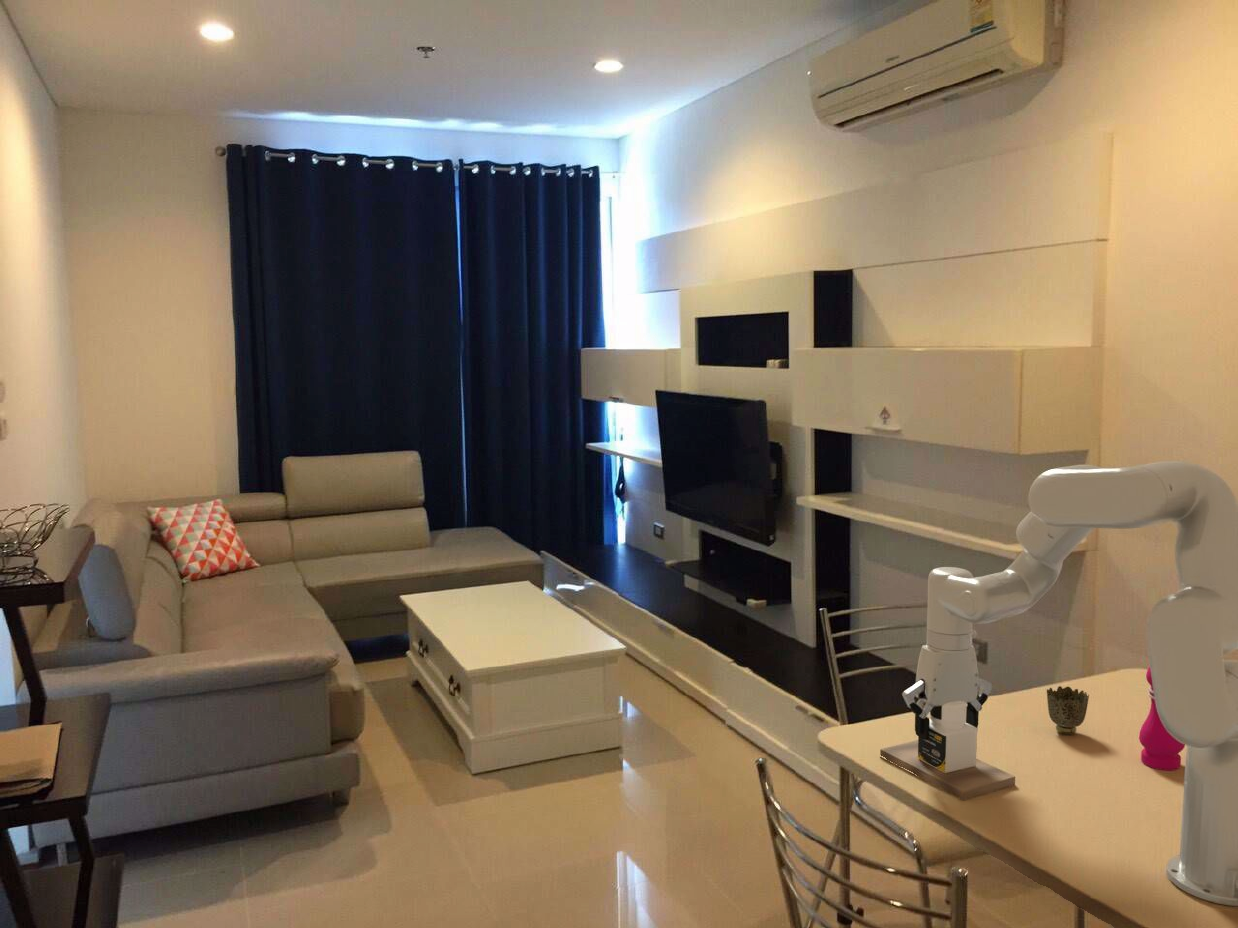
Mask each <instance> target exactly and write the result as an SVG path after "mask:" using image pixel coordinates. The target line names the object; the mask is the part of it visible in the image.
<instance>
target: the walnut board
mask: <svg viewBox="0 0 1238 928" xmlns="http://www.w3.org/2000/svg"><path fill="white" fill-rule="evenodd" d="M880 755H881V756H883V757H885V758H886V759H887V760H889V761H891V762H893V763H895V764H897V765H898V766H900V767H903V768H905V769H907V770H909V771H911V772H913V773H914V774H916V775H917V776H919V777H920V778H919V777H918V778H919V779H921V778H922V780H923V779H924V780H923V781H925V780H926V781H925V782H927V783H929V784H931V785H933V786H935V787H937V788H939V789H941V790H942V791H945V792H946V793H949V794H950V795H952V796H954V797H956V798H958V799H960V800H962V801H964V800H965V801H966V800H968V799H971V798H975V797H979V796H982V795H986V794H990V793H992V792H993V793H994V792H997V791H998V790H1002V789H1006V788H1010V787H1013V786H1015V785H1016V776H1015V775H1012V774H1011V773H1008V772H1007V771H1004V770H1002V769H1000V768H998V767H996V766H993V765H991V764H989V763H987V762H985V761H983V760H981V759H979V758H976V766H975V767H971V768H966V769H962V770H958V771H953V772H949V773H943V772H941V771H939V770H938V769H936V768H934V767H932V766H930V765H929V764H927V763H925V762H923V761H921V760H920V759H918V739H915V740H912V741H909V742H903V743H900V744H897V745H896V744H895V745H893V746H889V747H888V746H887V747H883V748H880V754H879V756H880ZM887 760H886V761H887ZM898 766H897V767H898ZM900 767H899V768H900ZM914 774H913V775H914ZM917 776H916V777H917Z"/></svg>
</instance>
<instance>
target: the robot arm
mask: <svg viewBox="0 0 1238 928" xmlns="http://www.w3.org/2000/svg"><path fill="white" fill-rule="evenodd" d="M1027 497H1028V498H1027V499H1028V505H1029V509H1030V512H1029V513H1028V514H1027V515H1026V516H1025V517H1024V518H1023V519H1022V520H1021V521H1020V523H1018V525H1017V527H1016V529H1015V535H1016V539H1017V541H1018V544H1019V545H1020V546H1021V548H1022V549H1023V550H1022V551H1021V553H1020V554H1019V555H1018V556H1017V558H1016V559H1015V560H1013V562H1011V564H1010V565H1009V566H1008V567H1007V568H1005V570H1003V571H1000V572H995V573H992V574H986V575H983V576H976V577H974V576H973V573H971V571H969V570H968V569H964V568H960V567H954V566H941V567H936V568H933V569H932V570H931V571H930V572H929V574H928V579H927V606H926V607H927V608H926V609H927V610H926V611H927V612H926V617H927V618H926V644H923V645H922V646H921V648H920V652H919V656H918V660H917V661H918V662H917V667H916V674H915V683H914V684H912V686H910V687H908V688H907V689H905V690H904V691H903V692H902V693H901V695H902V697H903V699H904V702H905V703H906V706H907V708H908V709H909V710H910V711H911V712H912V713H913V714H914V731H915V735H916V736H919V737H920V738H922V739H923V740H928V739H929V724H930V720H929V719H930V717H928V716H929V715H930V711H931V709H932V708H933V707H937V706H942V705H944V704H946V703H949V702H953V701H964V702H966V703H967V708H966V723H968V724H970V725H972V726H974V727H976V728H977V730H978V727H979V712H981V711H982V710H983V705H984V704H985V703H986V702H987V700H988V699H989V696H988V695H989V694H990V692H991V691H992V688H993V683H991V682H988V681H986V680H985V679H982V678H980V677H979V668H978V661H977V659H978V658H977V653H976V650H975V647H974V645H973V639H975V638H977V637H978V631H977V630H975V629H973V624H976V625H985V624H989V623H992V622H996V621H999V620H1002V619H1006V618H1010V617H1014V616H1017V615H1021V614H1023V613H1025V612H1026V611H1028V610H1029V609H1031V608H1032V607H1033V606H1034V605H1036V603H1037V602H1038V601H1040V599H1041V598H1042V597H1044V596H1045V594H1046V593H1047V592H1048V591H1049V590H1050V589H1051V588H1052V587H1053V586H1054V584H1055V583H1056V582H1057V580H1058V578H1059V576H1060V573H1061V571H1062V569H1063V562H1064V560H1066V558H1067V557H1068V556H1069V555H1070V554H1071V553H1072V552H1073V551H1074V550H1075V549H1076V547H1077V546H1079V544H1080V543H1081V542H1083V540H1084V539H1085V538H1086V537H1087V536H1089V534H1090V533H1091V532H1092V531H1093V530H1094V529H1108V530H1109V529H1111V530H1112V529H1114V530H1115V529H1116V530H1117V529H1118V530H1119V529H1120V530H1127V529H1129V530H1130V529H1141V528H1146V527H1150V526H1155V525H1160V524H1164V523H1169V522H1171V523H1174V524H1176V526H1177V527H1176V528H1177V533H1176V538H1175V543H1174V550H1173V551H1174V554H1173V555H1174V564H1175V567H1176V575H1177V576H1176V577H1177V591H1175V592H1172V593H1169V594H1167V595H1165V596H1163V597H1162V598H1160V599H1159V600H1158V601H1157V602H1156V603H1155V604H1154V605H1153V607H1152V608H1151V610H1150V612H1149V613H1148V617H1147V622H1146V626H1145V627H1146V628H1145V629H1146V630H1145V634H1146V635H1145V636H1146V637H1145V638H1146V648H1147V653H1148V654H1147V655H1148V661H1149V667H1150V669H1151V677H1152V684H1153V691H1154V698H1155V704H1156V708H1157V712H1158V715H1159V718H1160V720H1161V722H1162V724H1163V726H1164V727H1165V729H1166V730H1167V731H1168V733H1169V734H1170V735H1171V736H1172V737H1174V738H1175V739H1176V740H1177V741H1179V742H1180V743H1182V744H1185V746H1186V753H1185V754H1186V755H1185V762H1184V763H1185V765H1184V766H1185V767H1184V778H1183V780H1184V781H1183V793H1182V794H1183V795H1182V796H1183V797H1182V810H1181V811H1182V812H1181V830H1180V846H1179V849H1180V850H1179V854H1177V855H1175V856H1172V857H1171V858H1170V859H1168V861H1167V862H1166V875H1167V877H1168V879H1169V880H1170V881H1171V882H1172V883H1173V884H1174V885H1175V886H1177V887H1178V888H1179V889H1181V890H1182V891H1184V892H1185V893H1187V894H1189V895H1192V896H1194V897H1196V898H1199V899H1202V900H1204V901H1206V902H1207V901H1208V902H1211V903H1215V904H1219V905H1226V906H1233V907H1238V660H1237V659H1235V660H1233V659H1228V660H1227V659H1226V660H1225V659H1224V655H1227V654H1230V653H1233V652H1235V651H1237V650H1238V500H1237V498H1236V496H1235V493H1234V491H1233V490H1232V489H1231V486H1229V484H1228V483H1227V482H1226V481H1225V480H1224V478H1222V477H1221V476H1219V474H1217V473H1215V472H1214V471H1213V470H1211V469H1209V468H1207V467H1204V466H1202V465H1199V464H1195V463H1192V462H1186V461H1181V460H1180V461H1179V460H1169V461H1168V460H1167V461H1157V462H1151V463H1146V464H1145V463H1144V464H1140V465H1134V466H1133V465H1132V466H1126V467H1112V468H1109V467H1108V468H1103V467H1100V466H1098V465H1095V464H1094V465H1093V464H1075V465H1069V466H1061V467H1056V468H1052V469H1049V470H1046V471H1044V472H1042V473H1041V474H1039V475H1038V476H1037V477H1036V478H1035V479H1034V481H1033V482H1032V484H1031V485H1030V488H1029V491H1028V496H1027ZM915 697H916V698H917V699H918V700H917V701H916V700H915Z"/></svg>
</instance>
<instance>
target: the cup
mask: <svg viewBox="0 0 1238 928" xmlns="http://www.w3.org/2000/svg"><path fill="white" fill-rule="evenodd" d="M1046 696H1047V697H1046V698H1047V708H1048V714H1049V718H1050V719H1051V721H1052V722H1053V723H1054V724H1055V725H1056V726H1055V729H1056V731H1057V732H1058V733H1059V734H1061V735H1064V736H1072V735H1075V734H1076V733H1077V729H1078V728H1077V727H1079V726H1081V725H1082V724H1083V723H1084V721H1085V718H1086V715H1087V710H1088V704H1089V699H1090V694H1087V691H1085V692H1084V690H1083V689H1082V690H1081V691H1080V692H1079V689H1078V688H1075V689H1074V690H1073V689H1072V688H1071V687H1070V686H1065V687H1062V686H1061V685H1058V687H1057V689H1056V690H1054V689H1053V688H1052V687H1049V689H1046Z"/></svg>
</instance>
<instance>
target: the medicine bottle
mask: <svg viewBox="0 0 1238 928" xmlns="http://www.w3.org/2000/svg"><path fill="white" fill-rule="evenodd" d="M966 708H967V703H966V702H964V701H953V702H949V703H946V704H944V705H942V706H937V707H933V708H932V709H931V711H930V712H929V720H930V724H929V739H928V740H923V739H922V738H920V737H919V736H918V739H917V740H918V759H920V760H921V761H923V762H925V763H927V764H929V765H930V766H932V767H934V768H936V769H938V770H939V771H941V772H943V773H949V772H953V771H958V770H962V769H966V768H971V767H975V766H976V759H977V748H978V746H977V745H978V742H977V741H978V729H977V728H976V727H974V726H972V725H970V724H968V723H966Z"/></svg>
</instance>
